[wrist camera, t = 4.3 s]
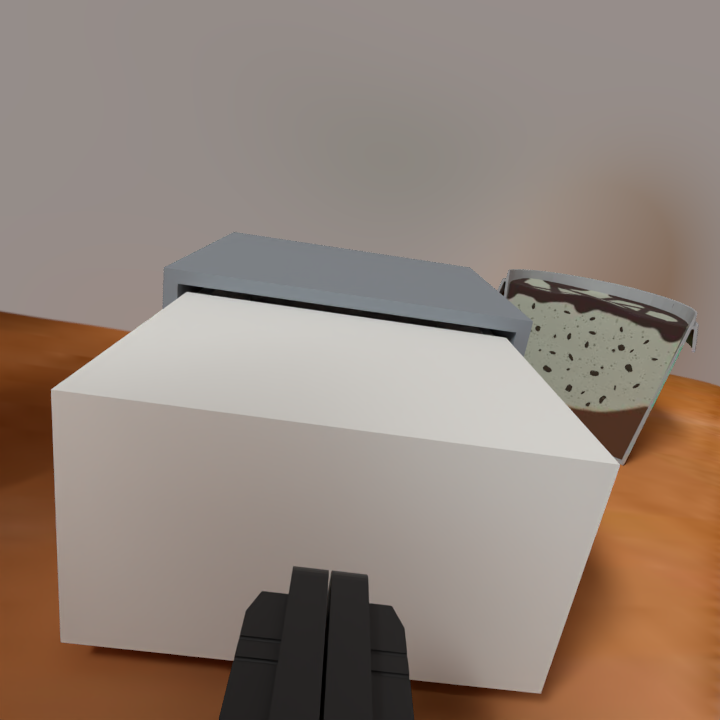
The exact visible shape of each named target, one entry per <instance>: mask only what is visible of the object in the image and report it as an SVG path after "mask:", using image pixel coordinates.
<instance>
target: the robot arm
mask: <svg viewBox="0 0 720 720" xmlns="http://www.w3.org/2000/svg"><path fill="white" fill-rule="evenodd" d="M328 580H329V570H324V569H315V568H307V567H298V566H293V570H292V576H291V582H290V588H289V594H284V593H276V592H267V591H261V593H260V594H259V595H258V596H257V598H256V599H255V600H254V601H253V602H252V604H251V605H250V606H249V607H248V608H247V610H246V612H245V616H244V620H243V624H242V628H241V632H240V637H239V640H238V644H237V648H236V652H235V656H234V661H233V664H232V668H231V672H230V676H229V680H228V684H227V688H226V692H225V696H224V700H223V704H222V708H221V712H220V716H219V720H414V712H413V703H412V693H411V684H410V680H409V665H408V658H407V646H406V637H405V628H404V626H403V625H402V623H401V621H400V619H399V617H398V616H397V614H396V612H395V610H394V609H393V607H392V606H390V605H381V604H373V603H369V582H368V575H367V574H359V573H350V572H342V571H333V570H332V571H331V576H330V581H329V587H328Z"/></svg>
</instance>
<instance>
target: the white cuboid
mask: <svg viewBox="0 0 720 720" xmlns="http://www.w3.org/2000/svg"><path fill="white" fill-rule="evenodd" d="M51 403H52V430H53V456H54V482H55V508H56V534H57V560H58V587H59V613H60V639H61V642H62V643H72V644H81V645H90V646H100V647H109V648H119V649H128V650H137V651H147V652H156V653H165V654H175V655H184V656H193V657H203V658H212V659H221V660H231V661H234V656H235V652H236V648H237V644H238V640H239V637H240V632H241V628H242V624H243V620H244V616H245V612H246V610H247V608H248V607H249V606H250V605H251V604H252V602H253V601H254V600H255V599H256V598H257V596H258V595H259V594H260V593H261V591H267V592H276V593H284V594H289V588H290V582H291V576H292V570H293V566H298V567H307V568H315V569H324V570H329V580H328V587H329V581H330V576H331V571H332V570H333V571H342V572H350V573H359V574H367V575H368V582H369V603H373V604H381V605H390V606H392V607H393V609H394V610H395V612H396V614H397V616H398V617H399V619H400V621H401V623H402V625H403V626H404V628H405V637H406V646H407V658H408V665H409V680H418V681H427V682H437V683H446V684H455V685H465V686H474V687H483V688H493V689H502V690H511V691H521V692H530V693H540V694H541V691H542V689H543V686H544V683H545V680H546V677H547V674H548V671H549V668H550V666H551V663H552V660H553V657H554V654H555V651H556V648H557V645H558V642H559V640H560V637H561V634H562V631H563V628H564V625H565V622H566V619H567V617H568V614H569V611H570V608H571V605H572V602H573V599H574V596H575V594H576V591H577V588H578V585H579V582H580V579H581V576H582V573H583V570H584V568H585V565H586V562H587V559H588V556H589V553H590V550H591V547H592V545H593V542H594V539H595V536H596V533H597V530H598V527H599V524H600V521H601V519H602V516H603V513H604V510H605V507H606V504H607V501H608V498H609V496H610V493H611V490H612V487H613V484H614V481H615V478H616V475H617V472H618V470H619V467H620V464H619V463H618V462H617V461H616V459H615V458H614V457H613V456H612V455H611V454H610V453H609V452H608V451H607V449H606V448H605V447H604V446H603V445H602V444H601V443H600V442H599V441H598V439H597V438H596V437H595V436H594V435H593V434H592V433H591V432H590V431H589V429H588V428H587V427H586V426H585V425H584V424H583V423H582V422H581V421H580V419H579V418H578V417H577V416H576V415H575V414H574V413H573V412H572V411H571V409H570V408H569V407H568V406H567V405H566V404H565V403H564V402H563V401H562V399H561V398H560V397H559V396H558V395H557V394H556V393H555V392H554V390H553V389H552V388H551V387H550V386H549V385H548V384H547V383H546V382H545V380H544V379H543V378H542V377H541V376H540V375H539V374H538V373H537V372H536V370H535V369H534V368H533V367H532V366H531V365H530V364H529V363H528V362H527V360H526V359H525V358H524V357H523V356H522V355H521V354H520V353H519V352H518V350H517V349H516V348H515V347H514V346H513V345H512V344H511V343H510V342H509V340H508V339H507V338H504V337H498V336H495V335H494V334H493V333H492V331H491V330H490V329H489V328H482V327H475V326H468V325H461V324H454V323H447V322H440V321H433V320H426V319H419V318H412V317H405V316H399V315H392V314H385V313H378V312H371V311H364V310H357V309H350V308H343V307H336V306H329V305H322V304H315V303H308V302H302V301H295V300H288V299H281V298H274V297H267V296H260V295H253V294H246V293H239V292H232V291H225V290H218V289H212V288H205V287H204V288H203V289H201V290H200V291H199V292H197V293H191V292H186V293H185V294H183V295H182V296H180V297H179V298H178V299H176V300H175V301H173V302H172V303H171V304H169V305H168V306H167V307H165V308H164V309H162V310H161V311H160V312H158V313H157V314H155V315H154V316H153V317H151V318H150V319H149V320H147V321H146V322H144V323H143V324H141V325H140V326H139V327H137V328H136V329H135V330H133V331H132V332H130V333H129V334H128V335H126V336H125V337H123V338H122V339H121V340H119V341H118V342H116V343H115V344H114V345H112V346H111V347H109V348H108V349H107V350H105V351H104V352H103V353H101V354H100V355H98V356H97V357H96V358H94V359H93V360H91V361H90V362H89V363H87V364H86V365H84V366H83V367H82V368H80V369H79V370H77V371H76V372H75V373H73V374H72V375H71V376H69V377H68V378H66V379H65V380H64V381H62V382H61V383H59V384H58V385H57V386H55V387H54V388H52V389H51Z"/></svg>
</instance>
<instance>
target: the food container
mask: <svg viewBox="0 0 720 720" xmlns="http://www.w3.org/2000/svg"><path fill="white" fill-rule="evenodd" d="M498 292H499V293H500V294H502V295H503V296H504V297H505V298H506V299H507V300H509V301H510V302H511V303H512V304H513V305H514V306H516V307H517V308H518V309H519V310H520V311H522V312H523V313H524V314H525V315H526V316H527V317H529V318H530V319H531V320H532V321H533V324H532V328H531V332H530V336H529V339H528V343H527V347H526V351H525V355H524V358H525V359H526V360H527V362H528V363H529V364H530V365H531V366H532V367H533V368H534V369H535V370H536V372H537V373H538V374H539V375H540V376H541V377H542V378H543V379H544V380H545V382H546V383H547V384H548V385H549V386H550V387H551V388H552V389H553V390H554V392H555V393H556V394H557V395H558V396H559V397H560V398H561V399H562V401H563V402H564V403H565V404H566V405H567V406H568V407H569V408H570V409H571V411H572V412H573V413H574V414H575V415H576V416H577V417H578V418H579V419H580V421H581V422H582V423H583V424H584V425H585V426H586V427H587V428H588V429H589V431H590V432H591V433H592V434H593V435H594V436H595V437H596V438H597V439H598V441H599V442H600V443H601V444H602V445H603V446H604V447H605V448H606V449H607V451H608V452H609V453H610V454H611V455H612V456H613V457H614V458H615V459H616V461H617V462H618V463H619V464H621V465H624V464H625V462H626V460H627V458H628V456H629V454H630V452H631V450H632V448H633V446H634V444H635V442H636V440H637V438H638V436H639V434H640V432H641V430H642V428H643V426H644V424H645V422H646V420H647V418H648V416H649V414H650V412H651V410H652V408H653V406H654V404H655V402H656V400H657V398H658V396H659V394H660V391H661V389H662V387H663V385H664V383H665V381H666V379H667V377H668V375H669V373H670V371H671V369H672V367H673V365H674V363H675V361H676V359H677V357H678V355H679V353H680V351H681V349H682V347H683V345H684V343H685V341H686V342H687V343H688V344H689V345H690V346H691V347H692V352H695V350H696V343H697V335H698V327H699V325H698V323H697V322H696V321H695V320H696V316H697V312H696V310H694V309H693V308H691V307H689V306H687V305H685V304H682V303H680V302H677V301H674V300H672V299H669V298H666V297H663V296H659V295H656V294H652V293H649V292H646V291H642V290H638V289H634V288H630V287H626V286H622V285H618V284H613V283H609V282H604V281H599V280H594V279H589V278H584V277H579V276H573V275H567V274H560V273H553V272H545V271H536V270H524V269H522V270H521V269H512V270H509V271H508V274H507V277H506V278H503V279H502V281H501V284H500V286H499V288H498Z"/></svg>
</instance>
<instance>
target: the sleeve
mask: <svg viewBox="0 0 720 720" xmlns="http://www.w3.org/2000/svg"><path fill="white" fill-rule="evenodd" d="M204 287H205V288H212V289H218V290H225V291H232V292H239V293H246V294H253V295H260V296H267V297H274V298H281V299H288V300H295V301H302V302H308V303H315V304H322V305H329V306H336V307H343V308H350V309H357V310H364V311H371V312H378V313H385V314H392V315H399V316H405V317H412V318H419V319H426V320H433V321H440V322H447V323H454V324H461V325H468V326H475V327H482V328H489V329H490V330H491V331H492V333H493V334H494V335H495V336H498V337H504V338H507V339H508V340H509V342H510V343H511V344H512V345H513V346H514V347H515V348H516V349H517V350H518V352H519V353H520V354H521V355H522V356H523V357H524V355H525V351H526V347H527V343H528V339H529V336H530V332H531V328H532V324H533V321H532V320H531V319H530V318H529V317H527V316H526V315H525V314H524V313H523V312H522V311H520V310H519V309H518V308H517V307H516V306H514V305H513V304H512V303H511V302H510V301H509V300H507V299H506V298H505V297H504V296H503V295H502V294H500V293H499V292H498V291H497V290H495V288H493V287H492V286H491V285H490V284H489V283H487V282H486V281H485V280H484V279H483V278H482V277H480V276H479V275H478V274H477V273H476V272H475V271H473V270H472V269H471V268H470V267H463V266H456V265H450V264H443V263H436V262H430V261H423V260H416V259H409V258H403V257H396V256H389V255H383V254H376V253H370V252H363V251H357V250H350V249H343V248H337V247H330V246H323V245H316V244H310V243H303V242H297V241H290V240H283V239H276V238H270V237H264V236H257V235H250V234H243V233H237V232H233V233H231V234H229V235H227V236H226V237H223V238H221V239H219V240H217V241H216V242H213V243H212V244H209V245H208V246H206V247H204V248H202V249H200V250H198V251H196V252H194V253H192V254H190V255H188V256H186V257H184V258H182V259H180V260H178V261H176V262H174V263H172V264H170V265H168V266H166V267H164V281H163V309H164V308H165V307H167V306H168V305H169V304H171V303H172V302H173V301H175V300H176V299H178V298H179V297H180V296H182V295H183V294H185V293H186V292H191V293H197V292H199V291H200V290H201V289H203V288H204Z"/></svg>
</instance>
